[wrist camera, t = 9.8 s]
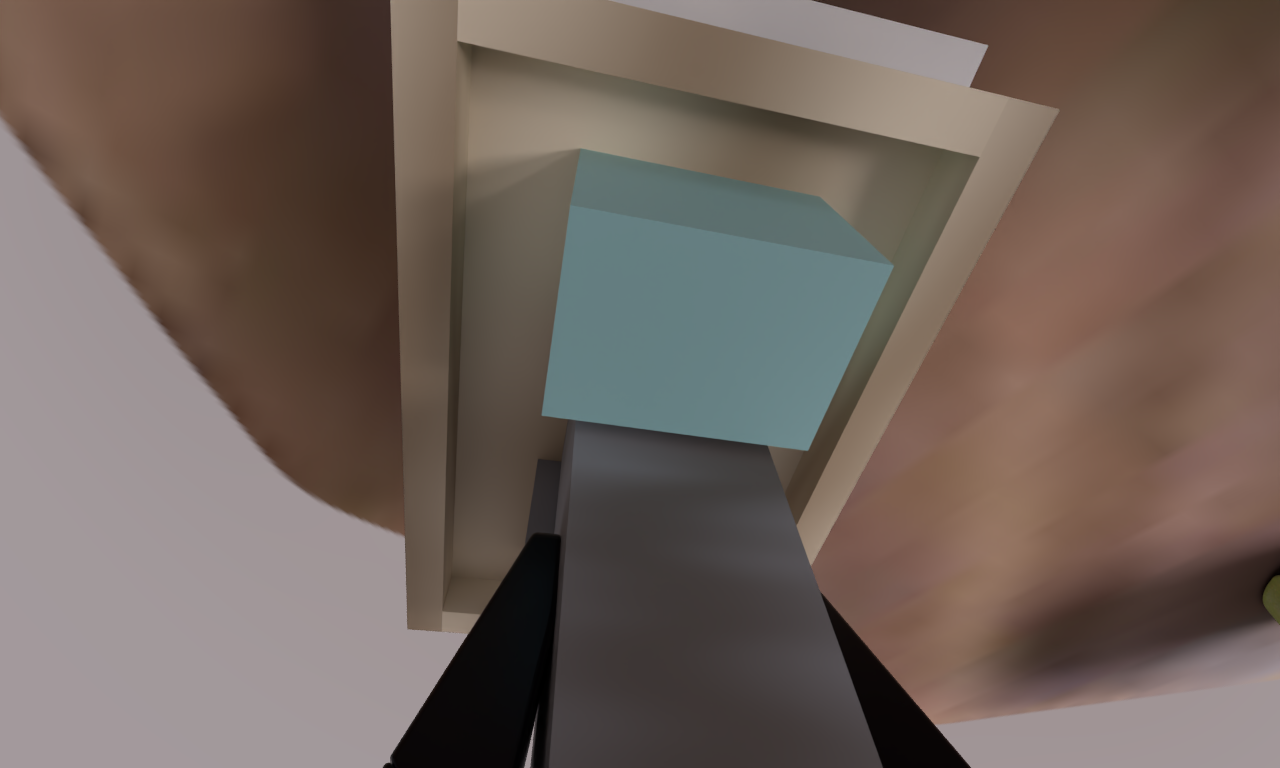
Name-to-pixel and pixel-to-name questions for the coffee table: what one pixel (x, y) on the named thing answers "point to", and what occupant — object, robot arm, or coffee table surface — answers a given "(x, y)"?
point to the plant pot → (1273, 598)
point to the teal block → (705, 304)
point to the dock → (836, 33)
